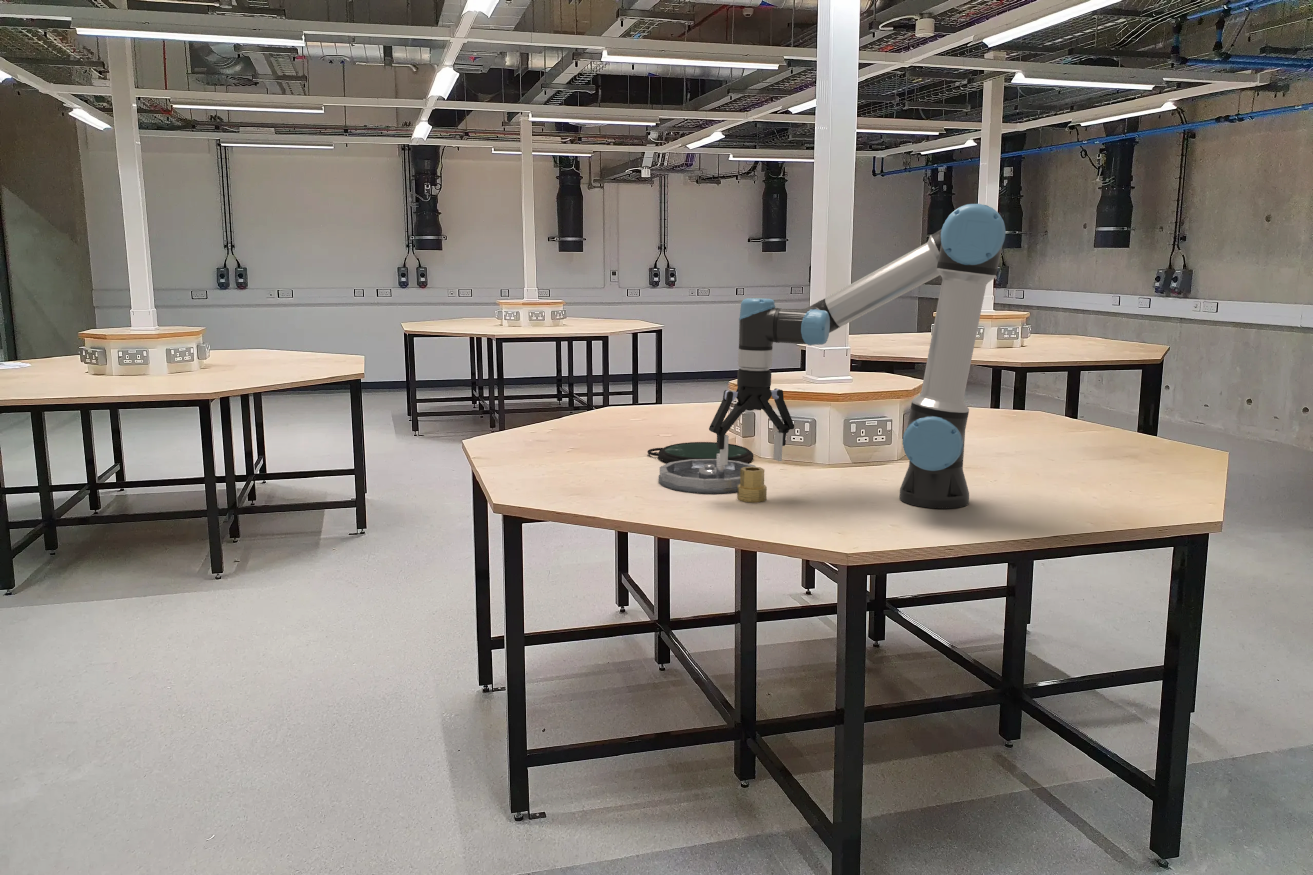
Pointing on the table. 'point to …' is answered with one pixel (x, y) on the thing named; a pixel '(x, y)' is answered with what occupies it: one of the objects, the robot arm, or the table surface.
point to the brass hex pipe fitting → (751, 485)
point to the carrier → (702, 476)
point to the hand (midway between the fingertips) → (750, 461)
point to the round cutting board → (700, 452)
